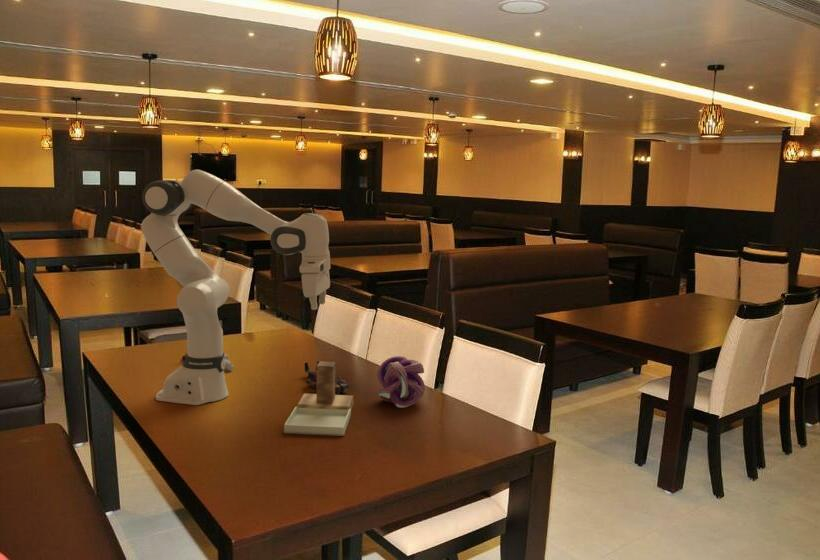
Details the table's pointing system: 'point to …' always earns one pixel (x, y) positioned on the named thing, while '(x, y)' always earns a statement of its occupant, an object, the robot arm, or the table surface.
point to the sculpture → (401, 381)
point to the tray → (317, 421)
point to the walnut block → (325, 382)
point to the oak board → (339, 403)
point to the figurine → (312, 380)
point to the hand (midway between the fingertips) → (318, 306)
